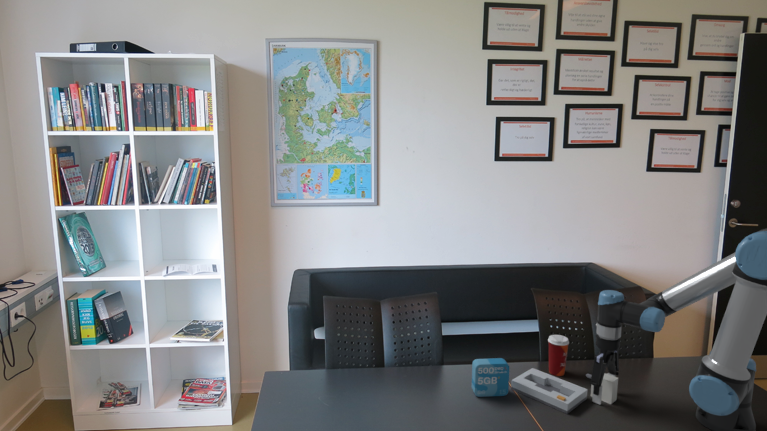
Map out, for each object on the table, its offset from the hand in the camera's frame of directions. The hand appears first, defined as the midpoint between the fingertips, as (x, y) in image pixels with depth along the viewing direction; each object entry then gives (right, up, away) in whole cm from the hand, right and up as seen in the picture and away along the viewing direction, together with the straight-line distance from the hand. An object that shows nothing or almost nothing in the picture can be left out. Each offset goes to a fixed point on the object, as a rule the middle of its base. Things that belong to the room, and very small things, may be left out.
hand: (603, 397), depth 162 cm
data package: (-39, 0, +3) cm, 39 cm away
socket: (-18, 0, +2) cm, 18 cm away
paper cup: (-10, +2, +18) cm, 21 cm away
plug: (-1, 0, +1) cm, 2 cm away
